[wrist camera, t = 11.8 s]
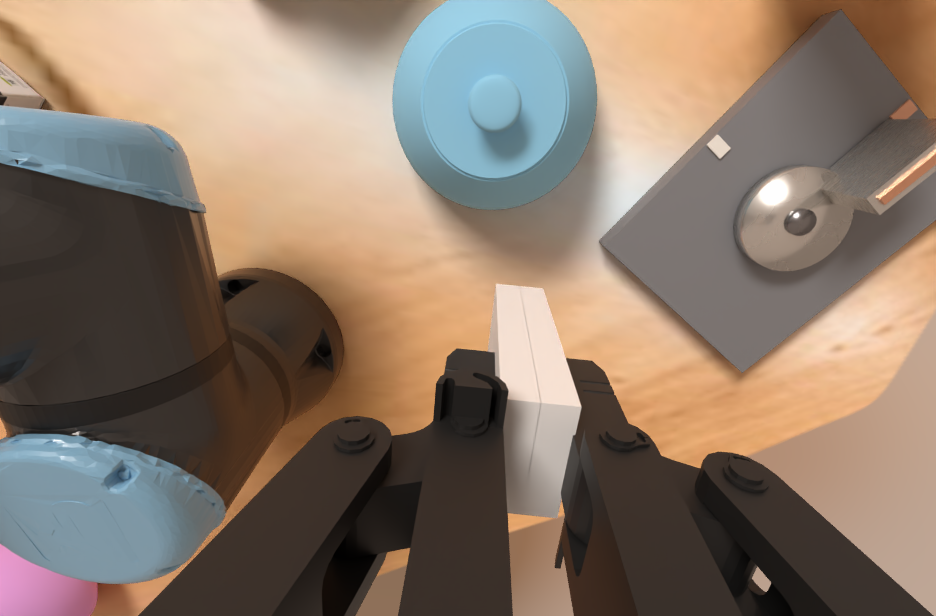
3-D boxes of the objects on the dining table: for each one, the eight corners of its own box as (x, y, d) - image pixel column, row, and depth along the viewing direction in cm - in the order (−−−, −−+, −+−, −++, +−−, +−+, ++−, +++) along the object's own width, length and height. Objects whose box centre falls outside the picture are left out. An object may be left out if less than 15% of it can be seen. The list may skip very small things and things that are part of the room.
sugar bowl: (424, 219, 41) (400, 254, 30) (377, 24, 35) (328, -18, 24) (597, 184, 39) (639, 209, 28) (577, -26, 33) (618, -94, 23)
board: (731, 362, 44) (743, 374, 42) (598, 240, 40) (604, 247, 38) (955, 181, 37) (982, 185, 35) (821, 15, 34) (843, 8, 32)
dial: (772, 284, 39) (821, 313, 33) (712, 220, 37) (753, 238, 32) (921, 165, 35) (1006, 173, 29) (862, 87, 33) (940, 79, 28)
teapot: (161, 581, 59) (84, 689, 48) (109, 631, 63) (27, 742, 52) (13, 492, 54) (-111, 589, 43) (-33, 552, 59) (-157, 655, 47)
